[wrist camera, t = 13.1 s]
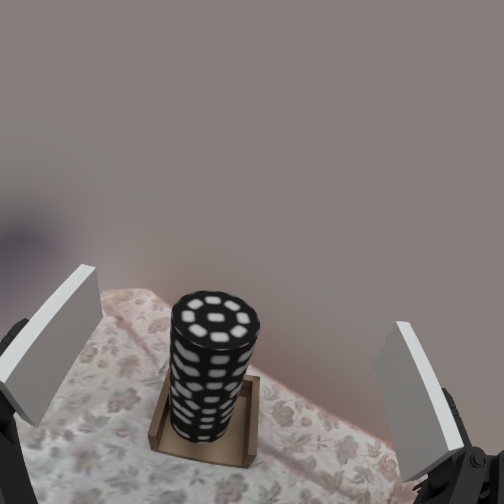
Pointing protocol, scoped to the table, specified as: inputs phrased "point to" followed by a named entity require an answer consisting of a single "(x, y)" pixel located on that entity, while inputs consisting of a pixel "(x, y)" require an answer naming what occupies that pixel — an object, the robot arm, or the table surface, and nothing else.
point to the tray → (226, 447)
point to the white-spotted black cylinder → (208, 362)
